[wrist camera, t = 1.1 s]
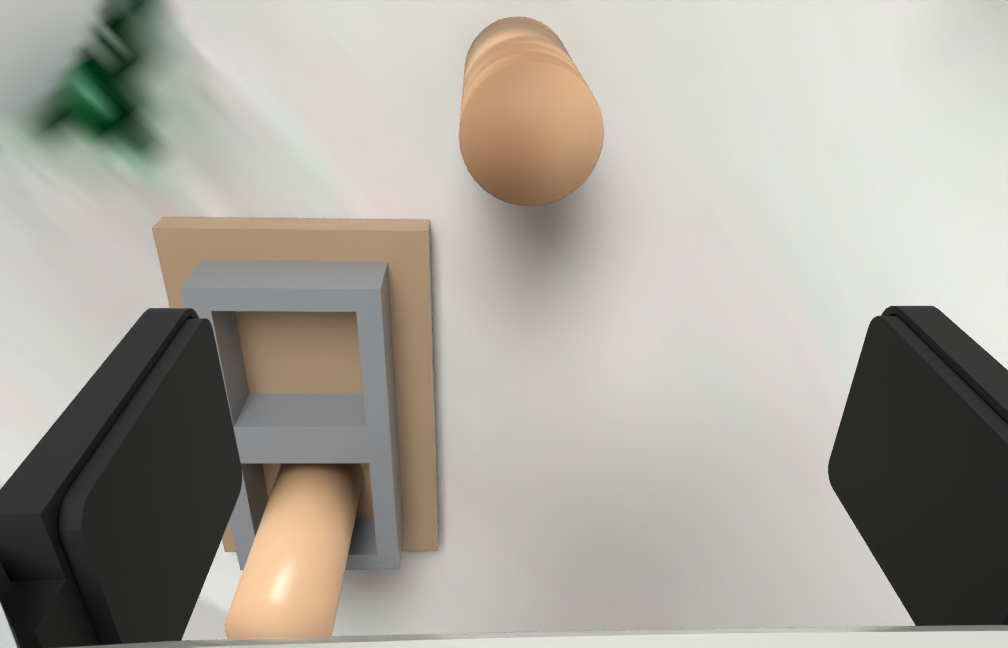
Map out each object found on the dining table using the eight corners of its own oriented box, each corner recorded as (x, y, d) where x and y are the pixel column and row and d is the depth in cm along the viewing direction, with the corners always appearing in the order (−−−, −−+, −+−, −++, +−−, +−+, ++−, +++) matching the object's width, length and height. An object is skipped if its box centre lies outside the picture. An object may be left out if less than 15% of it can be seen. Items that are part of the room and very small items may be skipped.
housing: (429, 219, 31) (409, 345, 22) (438, 534, 40) (426, 713, 31) (163, 217, 31) (35, 343, 22) (231, 535, 40) (160, 716, 31)
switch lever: (572, 17, 28) (610, 63, 20) (565, 126, 29) (597, 206, 22) (464, 15, 27) (458, 60, 20) (464, 124, 29) (459, 205, 21)
